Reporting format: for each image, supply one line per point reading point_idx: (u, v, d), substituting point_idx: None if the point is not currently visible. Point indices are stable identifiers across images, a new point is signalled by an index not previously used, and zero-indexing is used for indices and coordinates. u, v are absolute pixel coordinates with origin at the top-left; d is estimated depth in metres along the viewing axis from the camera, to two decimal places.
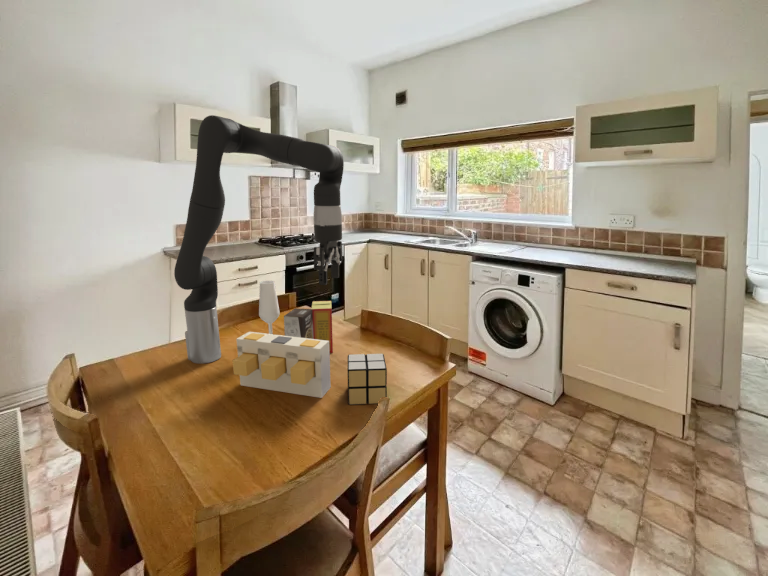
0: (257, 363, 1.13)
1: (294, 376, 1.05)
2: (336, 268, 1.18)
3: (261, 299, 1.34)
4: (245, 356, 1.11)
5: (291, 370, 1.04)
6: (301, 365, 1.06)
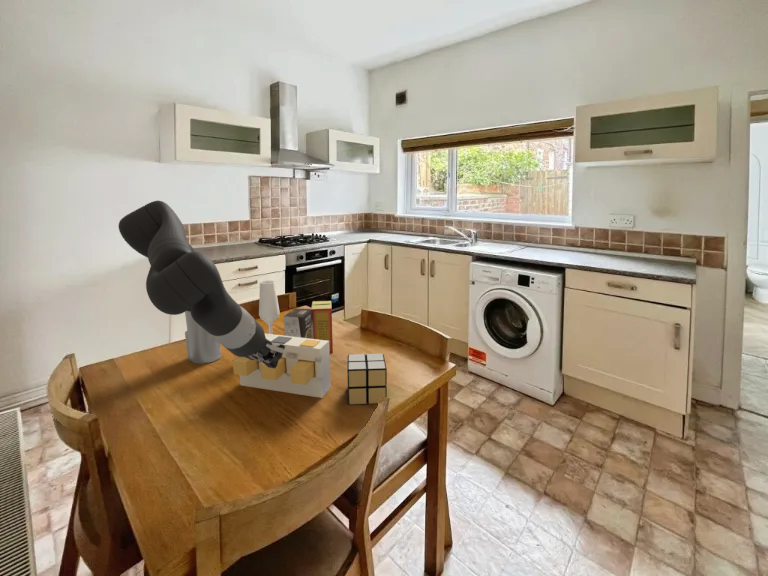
0: (257, 363, 1.13)
1: (294, 376, 1.05)
2: None
3: (261, 299, 1.34)
4: None
5: (291, 370, 1.04)
6: (301, 365, 1.06)
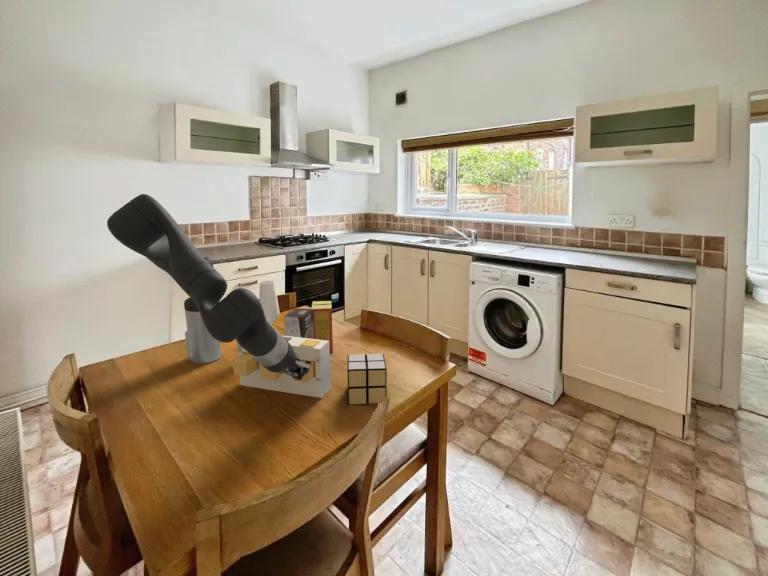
0: (257, 363, 1.13)
1: None
2: None
3: (261, 299, 1.34)
4: (245, 356, 1.11)
5: None
6: None
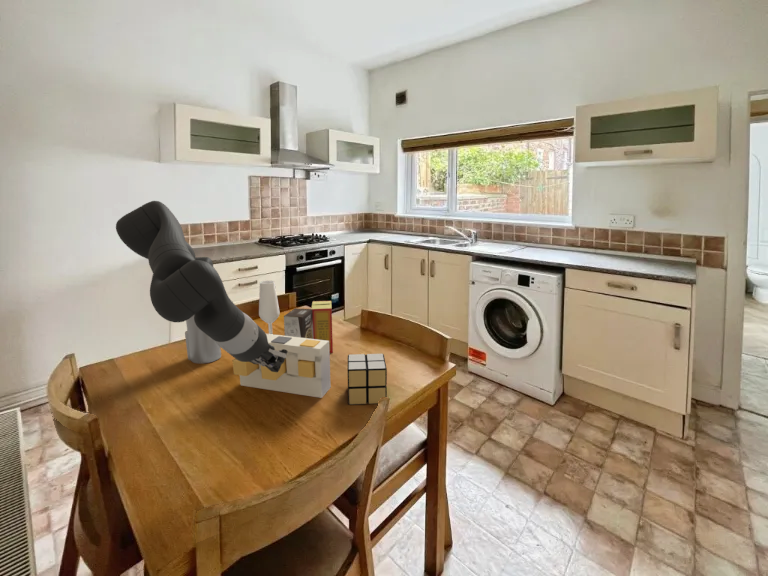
0: None
1: (301, 369, 1.08)
2: None
3: (261, 299, 1.34)
4: None
5: (298, 364, 1.08)
6: None
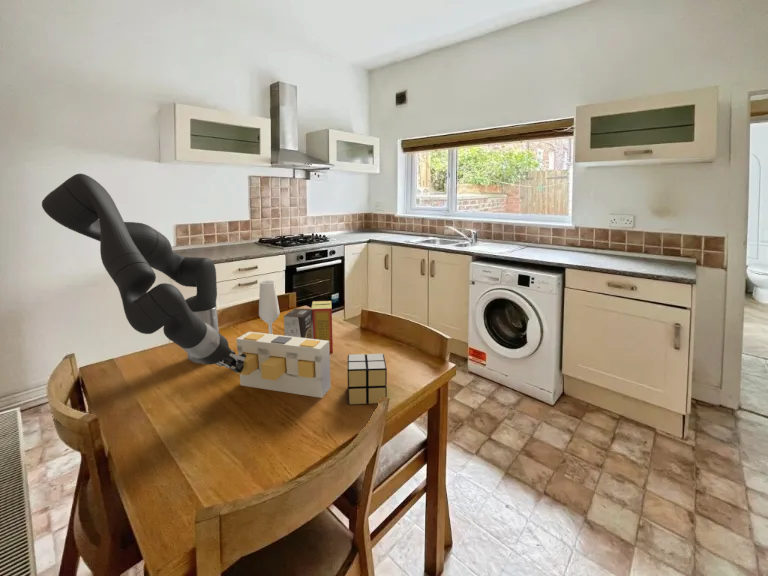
0: (258, 362, 1.14)
1: (301, 369, 1.08)
2: None
3: (261, 299, 1.34)
4: (246, 356, 1.12)
5: (298, 364, 1.08)
6: None
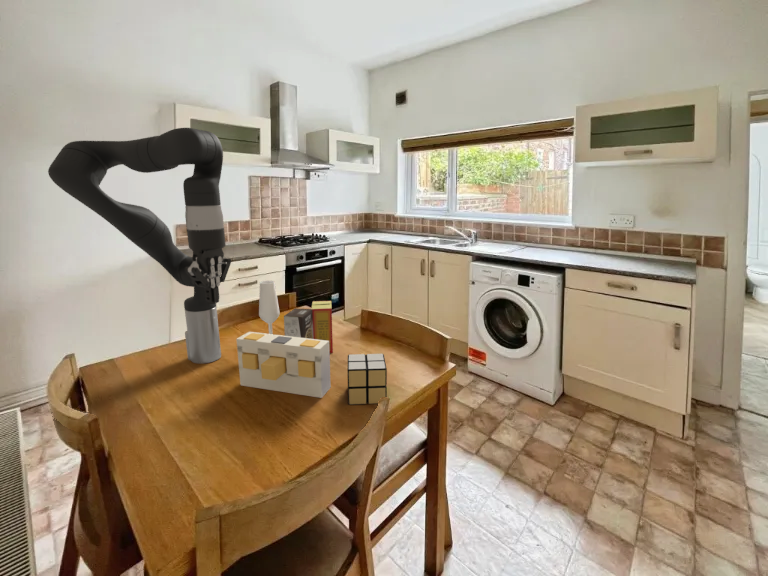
0: None
1: (301, 369, 1.08)
2: None
3: (261, 299, 1.34)
4: None
5: (298, 364, 1.08)
6: None
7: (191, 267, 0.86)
